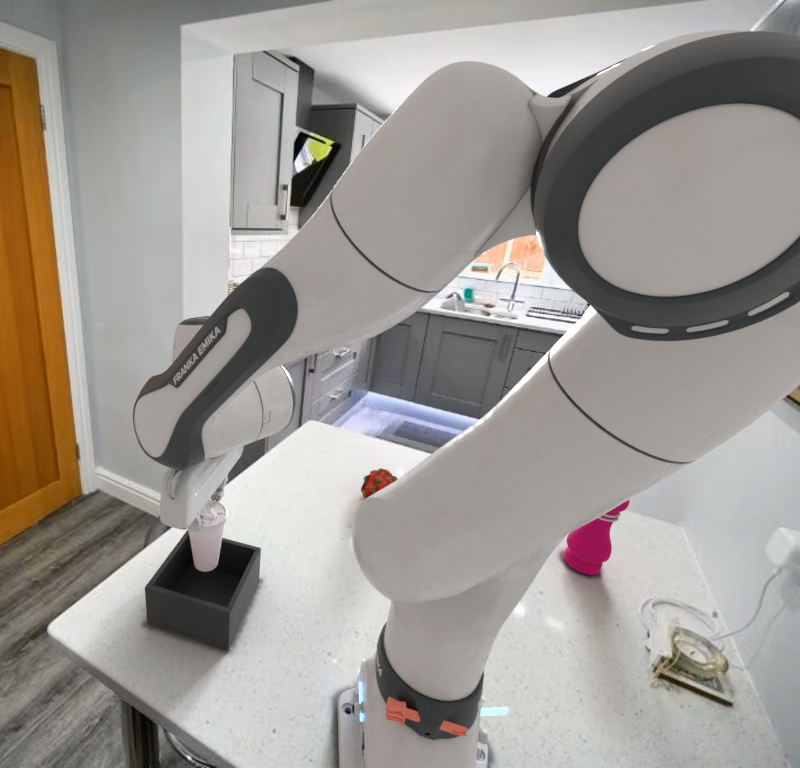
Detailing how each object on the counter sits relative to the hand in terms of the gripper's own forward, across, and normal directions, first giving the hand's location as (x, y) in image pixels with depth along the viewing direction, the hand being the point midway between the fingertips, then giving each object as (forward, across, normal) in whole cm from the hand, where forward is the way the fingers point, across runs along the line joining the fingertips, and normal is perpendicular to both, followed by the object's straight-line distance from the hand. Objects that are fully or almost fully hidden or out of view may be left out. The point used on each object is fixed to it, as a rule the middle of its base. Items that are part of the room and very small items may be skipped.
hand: (206, 512), depth 65 cm
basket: (+18, 0, 0) cm, 18 cm away
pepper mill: (+8, +32, -66) cm, 73 cm away
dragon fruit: (+18, +37, -25) cm, 48 cm away
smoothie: (+10, 0, 0) cm, 10 cm away
